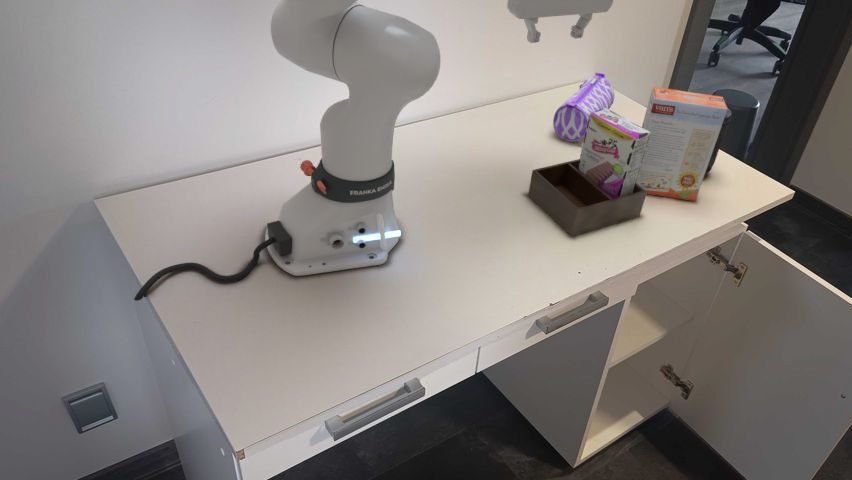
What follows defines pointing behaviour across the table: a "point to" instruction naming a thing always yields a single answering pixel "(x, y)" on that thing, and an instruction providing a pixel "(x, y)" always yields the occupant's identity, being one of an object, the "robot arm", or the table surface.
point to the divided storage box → (580, 199)
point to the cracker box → (679, 141)
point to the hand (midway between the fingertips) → (554, 39)
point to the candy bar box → (612, 152)
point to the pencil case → (582, 107)
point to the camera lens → (719, 141)
